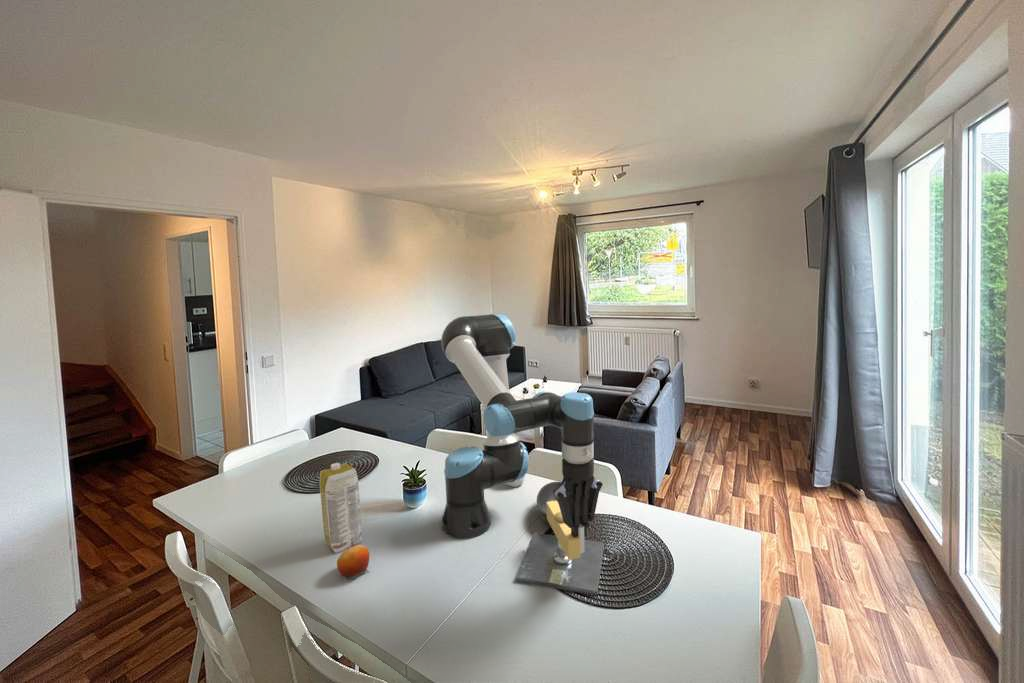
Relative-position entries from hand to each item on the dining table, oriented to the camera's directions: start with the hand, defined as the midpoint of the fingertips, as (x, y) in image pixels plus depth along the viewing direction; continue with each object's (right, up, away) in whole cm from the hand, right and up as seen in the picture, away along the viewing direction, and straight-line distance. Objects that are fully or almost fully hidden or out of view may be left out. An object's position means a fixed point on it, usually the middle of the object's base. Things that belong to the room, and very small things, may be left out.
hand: (579, 549), depth 106 cm
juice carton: (-65, -8, +20) cm, 69 cm away
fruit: (-58, -10, +7) cm, 59 cm away
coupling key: (-3, 0, +7) cm, 8 cm away
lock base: (-3, -8, +8) cm, 12 cm away
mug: (-17, -2, +55) cm, 58 cm away
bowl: (-2, -5, +32) cm, 32 cm away
